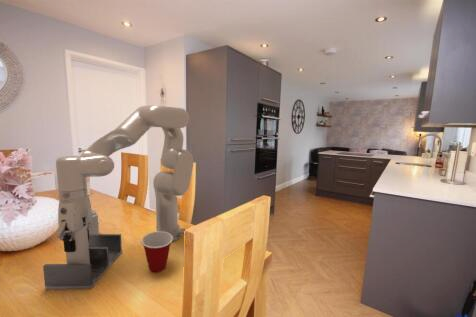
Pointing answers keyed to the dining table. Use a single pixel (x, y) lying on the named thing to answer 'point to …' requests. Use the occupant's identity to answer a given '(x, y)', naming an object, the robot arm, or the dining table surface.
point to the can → (94, 223)
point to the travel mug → (79, 247)
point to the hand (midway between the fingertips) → (77, 245)
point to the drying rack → (85, 275)
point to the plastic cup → (157, 249)
